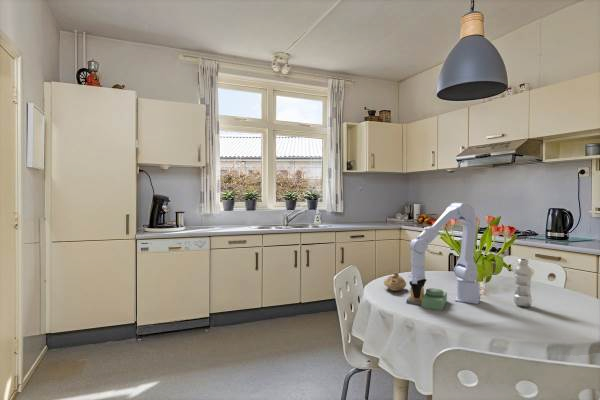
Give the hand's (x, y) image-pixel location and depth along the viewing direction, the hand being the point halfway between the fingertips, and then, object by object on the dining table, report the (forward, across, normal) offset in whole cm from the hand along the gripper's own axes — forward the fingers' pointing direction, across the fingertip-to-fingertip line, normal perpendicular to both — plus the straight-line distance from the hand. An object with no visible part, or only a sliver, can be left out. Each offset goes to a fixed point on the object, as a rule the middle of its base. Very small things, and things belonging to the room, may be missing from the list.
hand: (418, 296), depth 160 cm
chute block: (+2, 0, 0) cm, 2 cm away
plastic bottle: (+3, -16, +40) cm, 43 cm away
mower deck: (+2, 0, +3) cm, 4 cm away
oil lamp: (+3, -14, -14) cm, 20 cm away
